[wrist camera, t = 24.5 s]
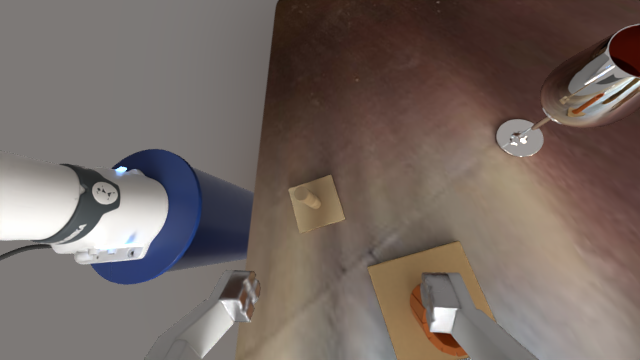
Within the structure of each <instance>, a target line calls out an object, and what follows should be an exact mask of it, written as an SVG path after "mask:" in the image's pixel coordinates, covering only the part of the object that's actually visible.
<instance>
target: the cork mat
mask: <svg viewBox="0 0 640 360" xmlns="http://www.w3.org/2000/svg"><path fill="white" fill-rule="evenodd" d="M368 271H369V274H370V277H371V280H372V283H373V286H374V289H375V292H376V296H377V299H378V302H379V305H380V308H381V311H382V314H383V317H384V320H385V323H386V326H387V329H388V332H389V335H390V338H391V341H392V345H393V348H394V351H395V354H396V357H397V360H459V359H464V358H468V357H469V355H464V356H460V357H458V356H457V355H456V356H453V355H450V354H447V353H444V352H442V351H441V350H440V351H439V350H438V349H437V348H436V347H435V346H434V345H433V344H432V343H431V342H430V341H429V340H428V338H427V336H426V335H425V333H424V331H423V330H422V328H421V327H420V325H419V323H418V322H417V320H416V318H415V317H414V315H413V313H412V310H411V307H410V305H411V304H410V296H411V293H412V291H413V290H414V288H415V287H416V286H417V285H419V284H420V283H422V279H421V275H422V272H446V273H459V274H460V275H461V276H462V278H463V281H464V283H465V285H466V287H467V289H468V291H469V294H470V296H471V298H472V300H473V302H474V304H475V307H476V309H480V310H482V311H483V312H484V313H485V314H486V315H488V316H489V317H490V318H491V319H492V320H493V321H495V319H494V317H493V315H492V312H491V310H490V308H489V306H488V304H487V301H486V299H485V297H484V295H483V293H482V290H481V288H480V286H479V284H478V281H477V279H476V277H475V275H474V273H473V270H472V268H471V266H470V264H469V262H468V259H467V257H466V255H465V253H464V251H463V248H462V246H461V244H460V242H459V241H455V242H452V243H448V244H445V245H441V246H438V247H434V248H431V249H427V250H424V251H420V252H417V253H413V254H410V255H406V256H403V257H399V258H396V259H393V260H389V261H386V262H382V263H379V264H375V265H372V266H368ZM419 286H420V285H419ZM495 322H496V321H495Z"/></svg>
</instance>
